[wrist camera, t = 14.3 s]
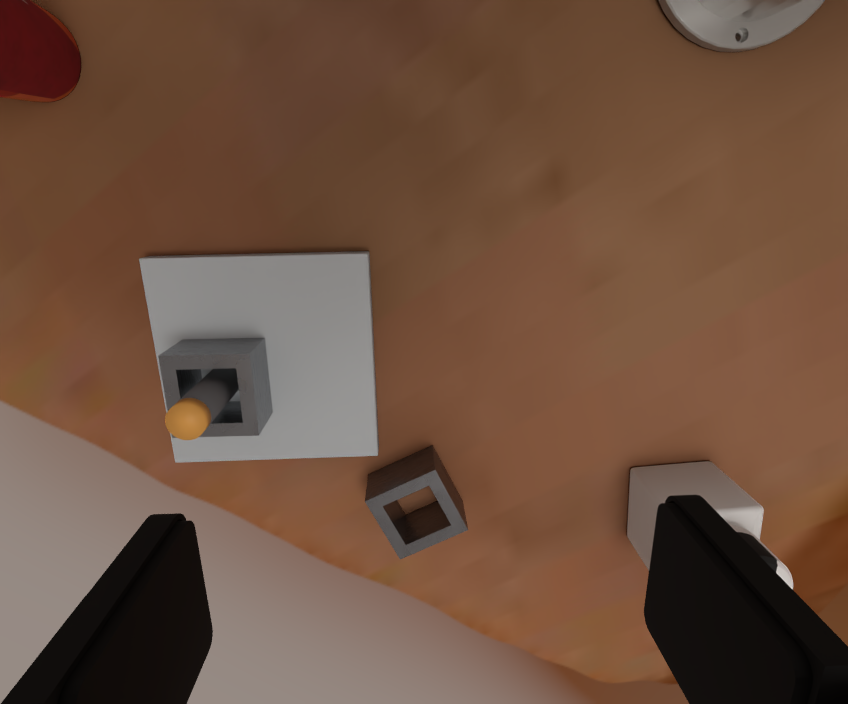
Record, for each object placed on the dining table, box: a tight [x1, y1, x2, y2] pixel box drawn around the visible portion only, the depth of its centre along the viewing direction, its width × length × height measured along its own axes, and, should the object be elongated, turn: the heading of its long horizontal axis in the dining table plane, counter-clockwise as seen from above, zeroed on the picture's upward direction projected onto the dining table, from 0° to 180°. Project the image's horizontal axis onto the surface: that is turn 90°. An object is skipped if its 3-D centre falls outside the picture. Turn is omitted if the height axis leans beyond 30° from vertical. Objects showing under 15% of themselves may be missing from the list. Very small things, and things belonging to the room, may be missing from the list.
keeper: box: [139, 251, 379, 462], centre depth 36 cm, size 16×16×10 cm
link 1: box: [158, 338, 273, 438], centre depth 37 cm, size 6×6×4 cm
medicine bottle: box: [627, 461, 793, 590], centre depth 40 cm, size 7×7×12 cm
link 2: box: [365, 445, 468, 559], centre depth 43 cm, size 6×6×4 cm
